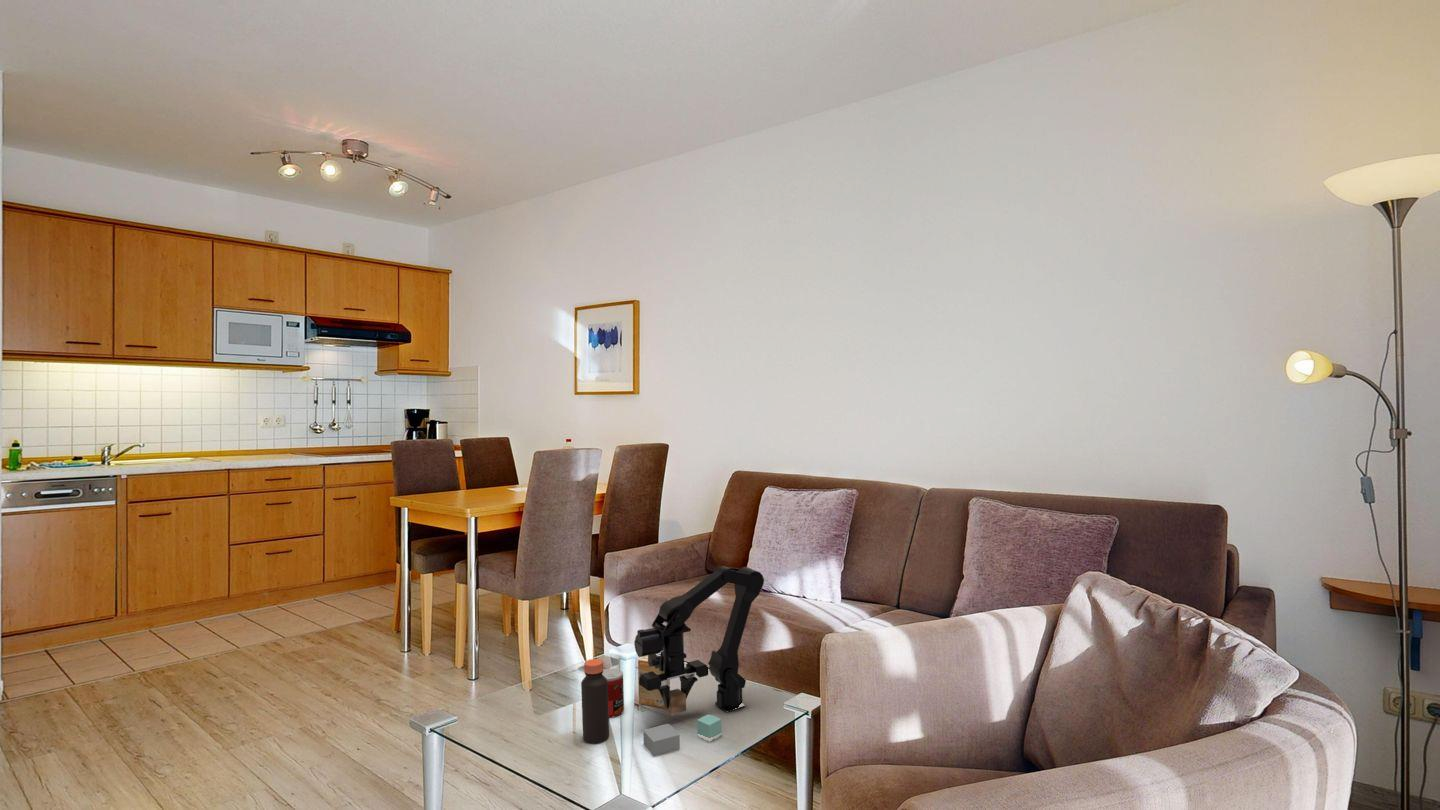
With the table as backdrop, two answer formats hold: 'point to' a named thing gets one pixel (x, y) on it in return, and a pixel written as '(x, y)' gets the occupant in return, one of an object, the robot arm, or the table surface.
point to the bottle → (595, 703)
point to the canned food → (614, 691)
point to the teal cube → (709, 726)
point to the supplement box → (644, 695)
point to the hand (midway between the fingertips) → (675, 705)
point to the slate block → (661, 740)
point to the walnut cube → (676, 702)
